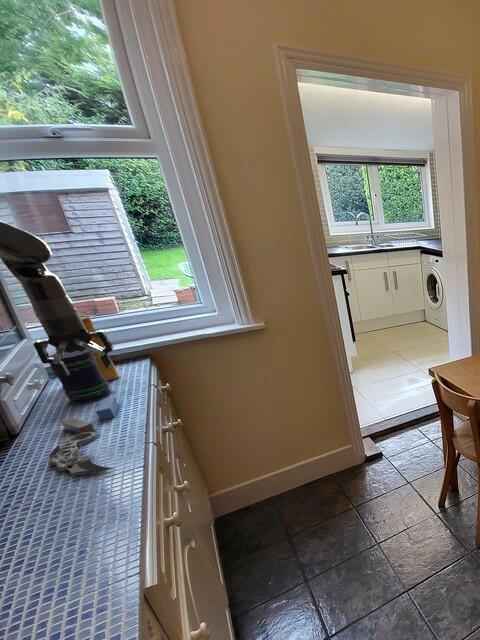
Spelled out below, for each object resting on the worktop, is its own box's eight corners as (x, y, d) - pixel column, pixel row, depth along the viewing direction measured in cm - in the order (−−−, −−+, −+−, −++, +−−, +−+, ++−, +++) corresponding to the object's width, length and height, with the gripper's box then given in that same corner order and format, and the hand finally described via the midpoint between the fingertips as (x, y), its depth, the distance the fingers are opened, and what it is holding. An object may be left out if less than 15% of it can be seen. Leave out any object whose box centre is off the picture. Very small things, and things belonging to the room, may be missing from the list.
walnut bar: (95, 431, 111) (91, 423, 110) (83, 436, 109) (79, 427, 108) (76, 425, 115) (72, 417, 114) (65, 429, 113) (60, 421, 112)
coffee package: (70, 383, 143) (37, 323, 134) (116, 372, 152) (88, 314, 143) (73, 390, 137) (39, 327, 128) (121, 378, 146) (92, 318, 137)
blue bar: (114, 417, 118) (110, 408, 117) (100, 420, 117) (95, 411, 115) (118, 405, 126) (114, 396, 124) (105, 408, 124) (101, 399, 123)
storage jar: (73, 407, 126) (48, 361, 119) (67, 399, 131) (43, 355, 125) (115, 395, 133) (93, 351, 127) (108, 388, 138) (87, 346, 132)
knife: (114, 465, 93) (50, 485, 86) (116, 471, 93) (53, 491, 87) (99, 427, 110) (45, 441, 104) (101, 432, 111) (48, 446, 104)
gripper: (96, 307, 115) (122, 360, 122) (23, 317, 107) (56, 374, 114) (91, 312, 109) (119, 368, 116) (15, 323, 102) (49, 382, 109)
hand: (88, 371), depth 115 cm, fingers open, 8 cm apart
